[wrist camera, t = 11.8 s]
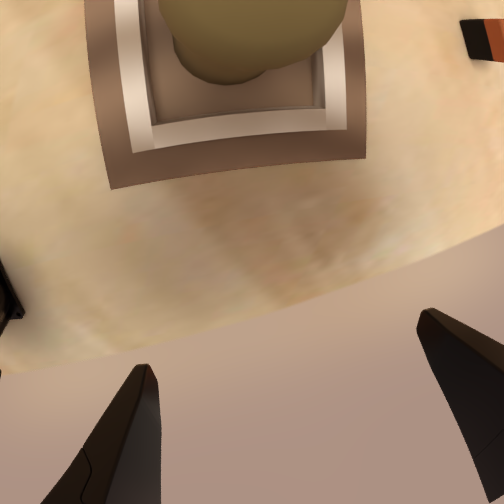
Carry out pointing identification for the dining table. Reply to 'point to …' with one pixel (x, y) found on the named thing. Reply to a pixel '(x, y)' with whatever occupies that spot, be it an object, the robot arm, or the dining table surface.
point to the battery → (484, 38)
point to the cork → (247, 34)
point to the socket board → (217, 101)
